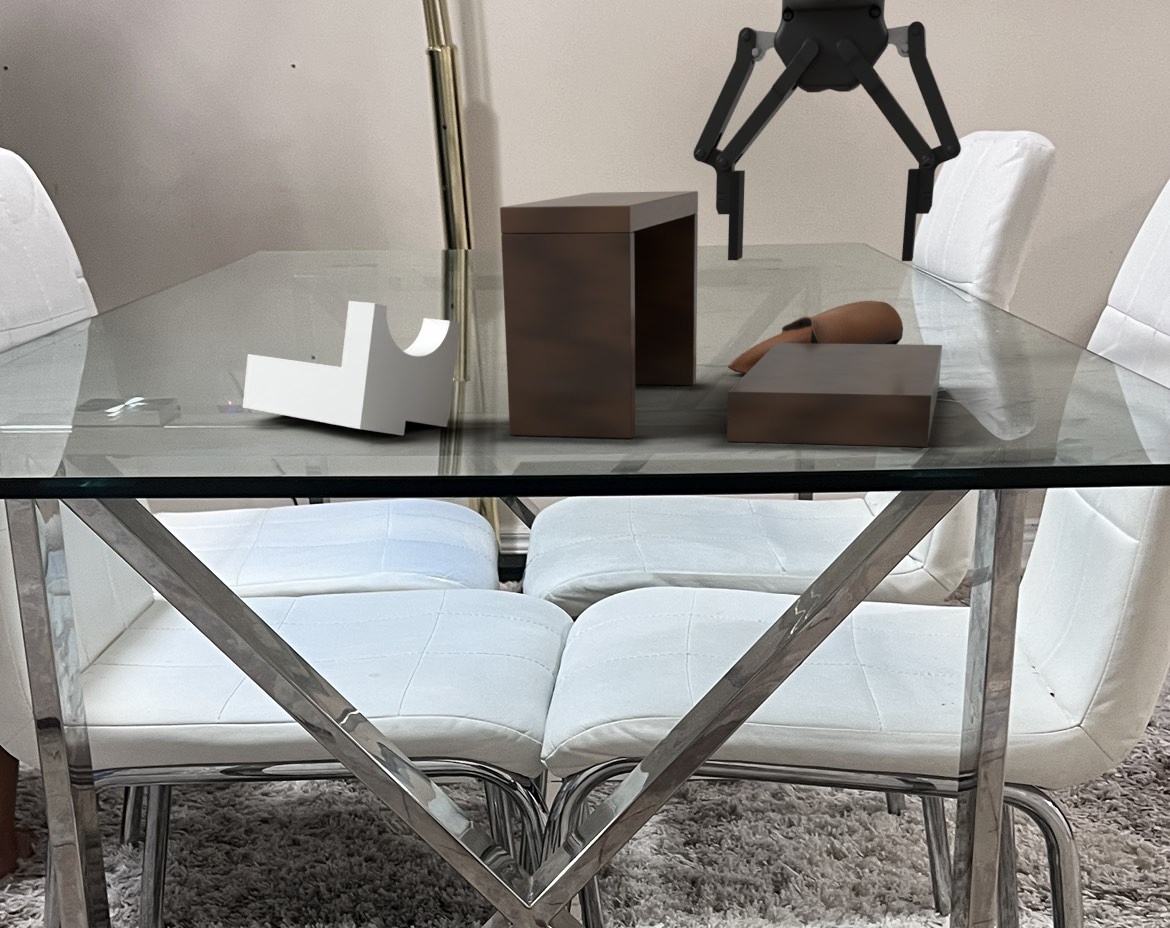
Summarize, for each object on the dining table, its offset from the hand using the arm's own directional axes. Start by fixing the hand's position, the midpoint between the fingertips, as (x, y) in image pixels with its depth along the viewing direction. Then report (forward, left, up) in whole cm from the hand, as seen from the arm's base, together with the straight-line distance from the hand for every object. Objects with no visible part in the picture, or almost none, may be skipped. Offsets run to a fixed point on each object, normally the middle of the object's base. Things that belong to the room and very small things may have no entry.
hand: (820, 259), depth 111 cm
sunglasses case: (0, 0, -8) cm, 8 cm away
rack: (+3, +22, -8) cm, 24 cm away
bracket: (+28, +30, -8) cm, 42 cm away
